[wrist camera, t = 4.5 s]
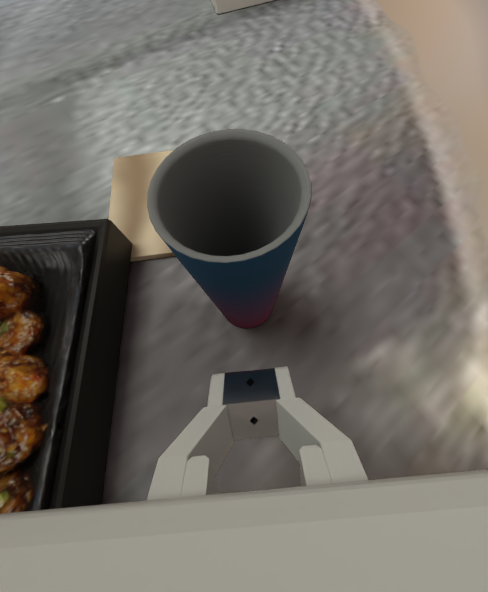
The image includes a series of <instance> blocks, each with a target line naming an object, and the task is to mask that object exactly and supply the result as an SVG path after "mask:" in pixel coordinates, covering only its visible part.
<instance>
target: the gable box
mask: <svg viewBox="0 0 488 592" xmlns="http://www.w3.org/2000/svg"><path fill="white" fill-rule="evenodd" d="M271 1H275V0H211V2H212V4H213V6H214V9H215V11H216V13H217V14H222V13H226V12H230V11H234V10H238V9H242V8H246V7H250V6H254V5H259V4H263V3H267V2H271Z"/></svg>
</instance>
